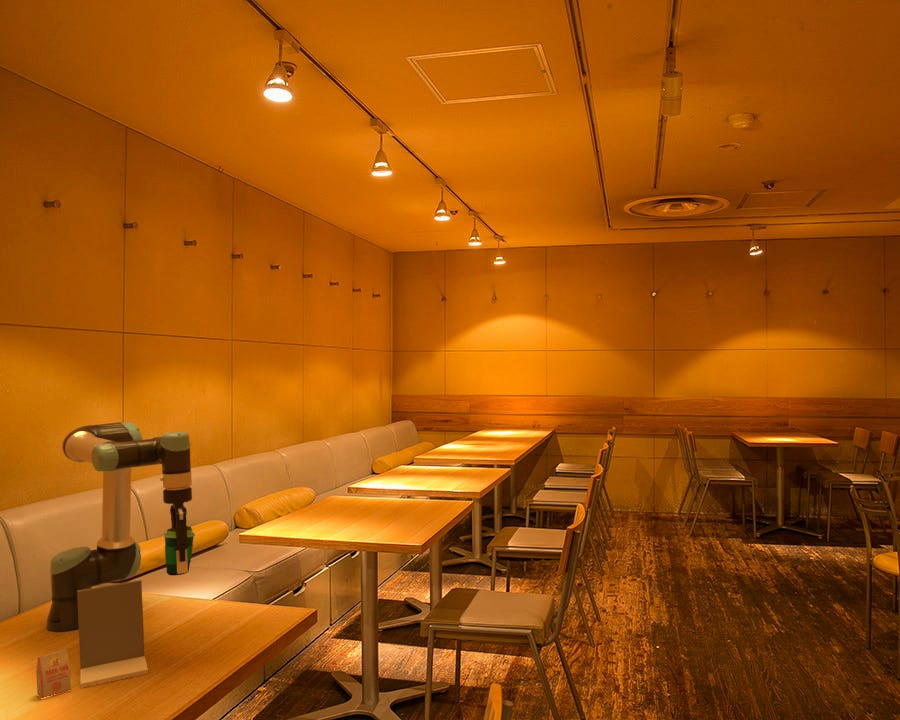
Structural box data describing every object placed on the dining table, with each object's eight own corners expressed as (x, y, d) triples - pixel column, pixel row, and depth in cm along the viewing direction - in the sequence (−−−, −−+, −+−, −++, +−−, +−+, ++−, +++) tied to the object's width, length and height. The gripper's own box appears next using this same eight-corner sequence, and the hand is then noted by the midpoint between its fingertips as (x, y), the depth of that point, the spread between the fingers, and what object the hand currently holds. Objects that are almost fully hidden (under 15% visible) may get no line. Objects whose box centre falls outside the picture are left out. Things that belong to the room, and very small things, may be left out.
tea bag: (37, 695, 184) (35, 655, 184) (66, 686, 189) (64, 647, 189) (41, 699, 181) (39, 659, 181) (70, 690, 186) (69, 651, 186)
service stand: (80, 670, 198) (77, 590, 198) (144, 657, 205) (140, 579, 205) (80, 688, 187) (77, 602, 187) (148, 673, 194) (144, 591, 194)
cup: (159, 573, 203) (157, 530, 203) (184, 566, 210) (182, 524, 210) (176, 577, 199) (175, 533, 199) (202, 569, 205) (200, 527, 205)
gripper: (159, 484, 211) (162, 563, 211) (166, 494, 193) (170, 580, 193) (186, 481, 215) (189, 558, 215) (196, 491, 197) (200, 575, 197)
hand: (180, 569), depth 204 cm, fingers closed on cup, 7 cm apart
